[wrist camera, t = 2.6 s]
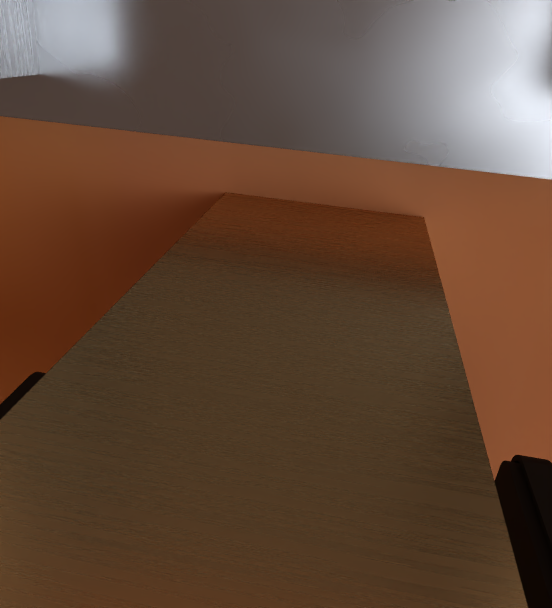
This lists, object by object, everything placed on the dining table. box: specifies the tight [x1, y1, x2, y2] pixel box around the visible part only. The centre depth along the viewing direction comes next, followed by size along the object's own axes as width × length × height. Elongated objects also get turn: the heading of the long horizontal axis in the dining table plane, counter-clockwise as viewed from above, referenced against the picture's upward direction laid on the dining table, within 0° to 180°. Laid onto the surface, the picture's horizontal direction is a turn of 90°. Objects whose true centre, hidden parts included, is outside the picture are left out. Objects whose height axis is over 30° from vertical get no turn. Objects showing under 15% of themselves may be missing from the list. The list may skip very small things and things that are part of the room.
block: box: [0, 193, 528, 608], centre depth 10 cm, size 5×8×12 cm, turn 176°
